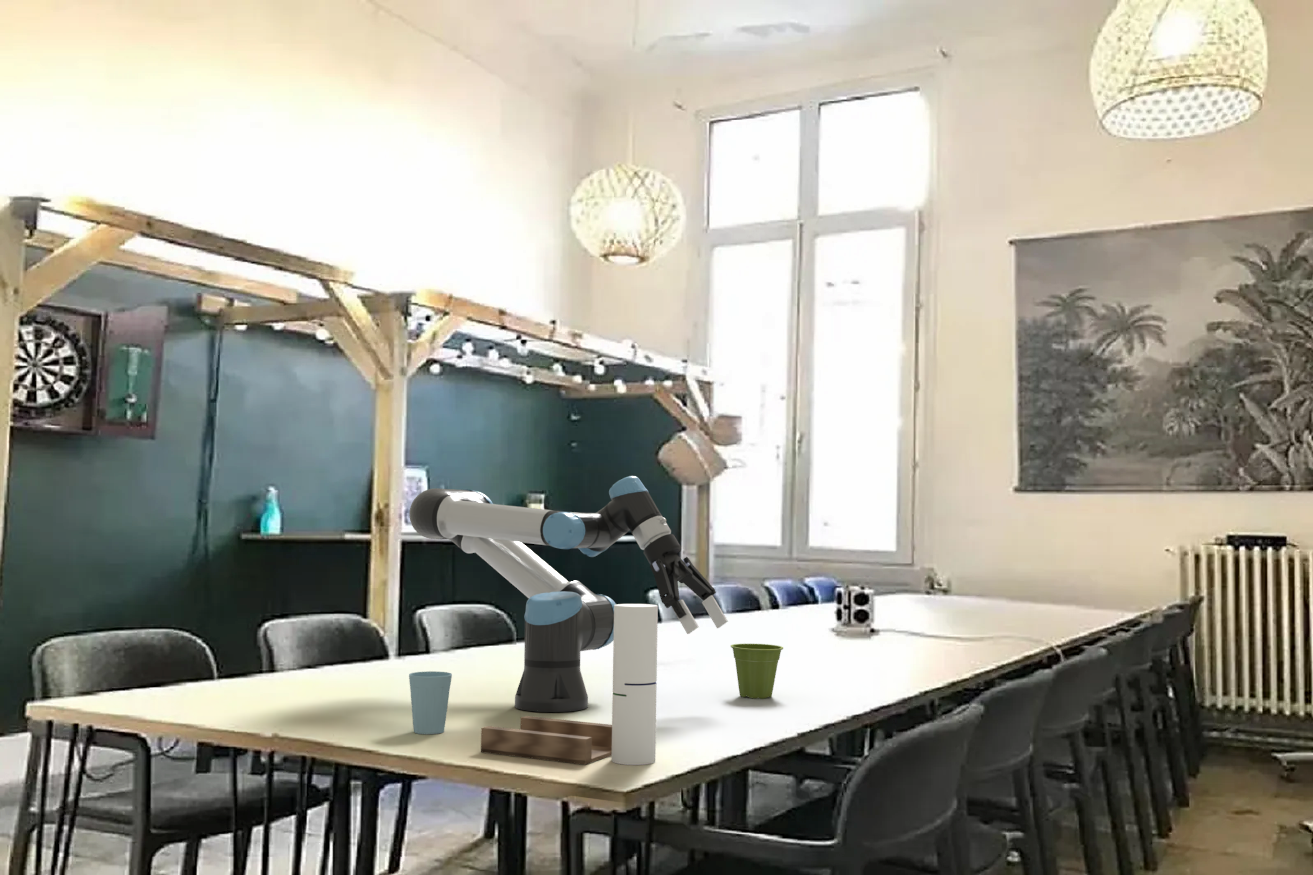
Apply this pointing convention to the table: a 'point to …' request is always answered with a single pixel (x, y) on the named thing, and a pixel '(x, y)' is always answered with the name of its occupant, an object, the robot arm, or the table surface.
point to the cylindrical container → (634, 684)
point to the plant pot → (756, 668)
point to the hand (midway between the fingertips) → (708, 627)
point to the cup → (429, 700)
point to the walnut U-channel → (550, 740)
